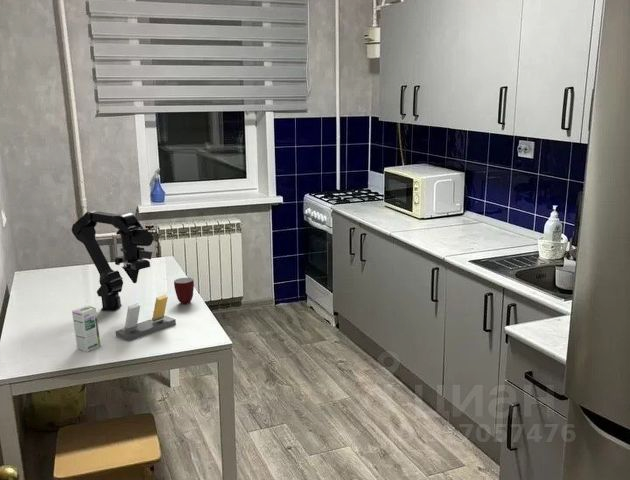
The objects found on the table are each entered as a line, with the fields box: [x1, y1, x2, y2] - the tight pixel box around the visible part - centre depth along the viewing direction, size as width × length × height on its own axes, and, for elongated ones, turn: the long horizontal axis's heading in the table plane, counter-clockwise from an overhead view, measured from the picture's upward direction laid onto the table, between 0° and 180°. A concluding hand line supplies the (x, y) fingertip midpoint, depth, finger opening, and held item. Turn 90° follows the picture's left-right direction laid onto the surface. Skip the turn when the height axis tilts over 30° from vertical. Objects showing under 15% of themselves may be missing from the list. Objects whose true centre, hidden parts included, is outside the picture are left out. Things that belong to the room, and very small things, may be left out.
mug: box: [173, 277, 195, 305], centre depth 255 cm, size 10×8×10 cm
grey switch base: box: [115, 314, 177, 342], centre depth 228 cm, size 21×8×2 cm, turn 140°
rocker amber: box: [151, 294, 169, 322], centre depth 229 cm, size 2×4×11 cm, turn 140°
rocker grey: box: [124, 303, 141, 331], centre depth 221 cm, size 2×4×11 cm, turn 140°
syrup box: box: [71, 305, 102, 352], centre depth 212 cm, size 6×6×14 cm
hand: (135, 283), depth 243 cm, fingers closed
